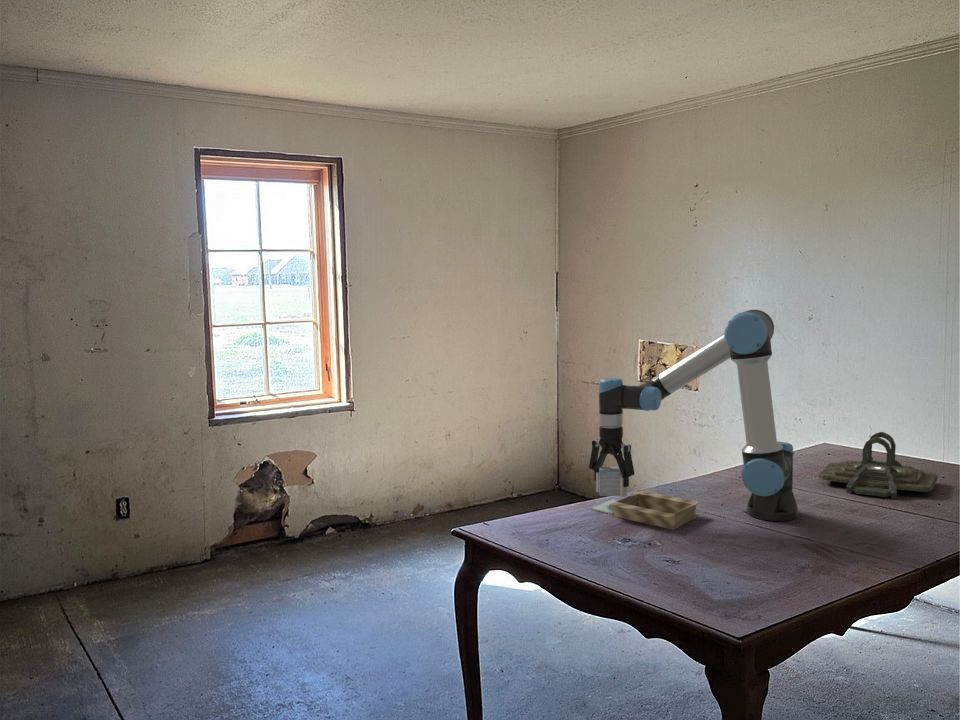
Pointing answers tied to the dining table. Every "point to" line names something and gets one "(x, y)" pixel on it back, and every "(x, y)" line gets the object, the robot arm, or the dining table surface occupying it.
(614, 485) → the medicine box
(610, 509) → the mat
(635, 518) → the wooden tray
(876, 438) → the olive flat handled piece
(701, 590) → the dining table surface
